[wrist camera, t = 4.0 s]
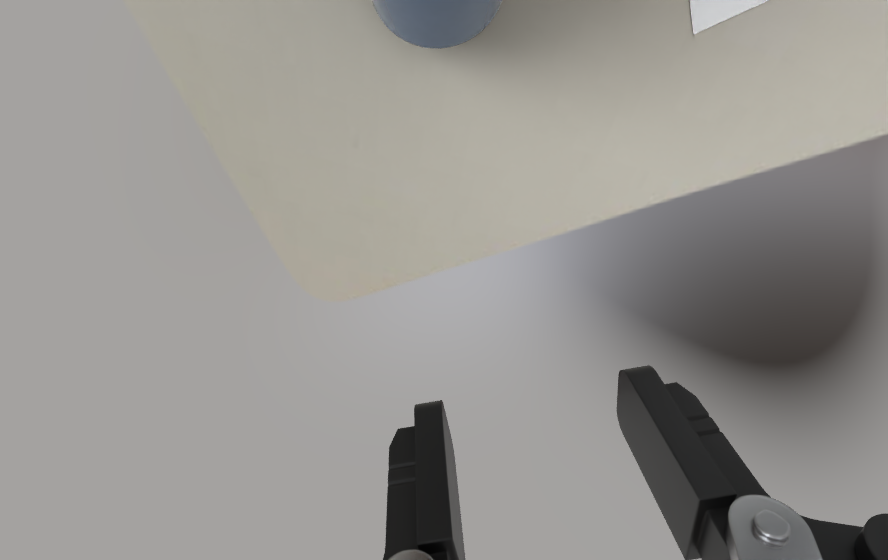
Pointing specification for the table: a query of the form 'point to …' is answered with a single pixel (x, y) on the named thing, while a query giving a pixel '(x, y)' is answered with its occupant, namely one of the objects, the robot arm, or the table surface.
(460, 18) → the blue cylinder
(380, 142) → the table surface
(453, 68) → the table surface
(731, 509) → the robot arm
